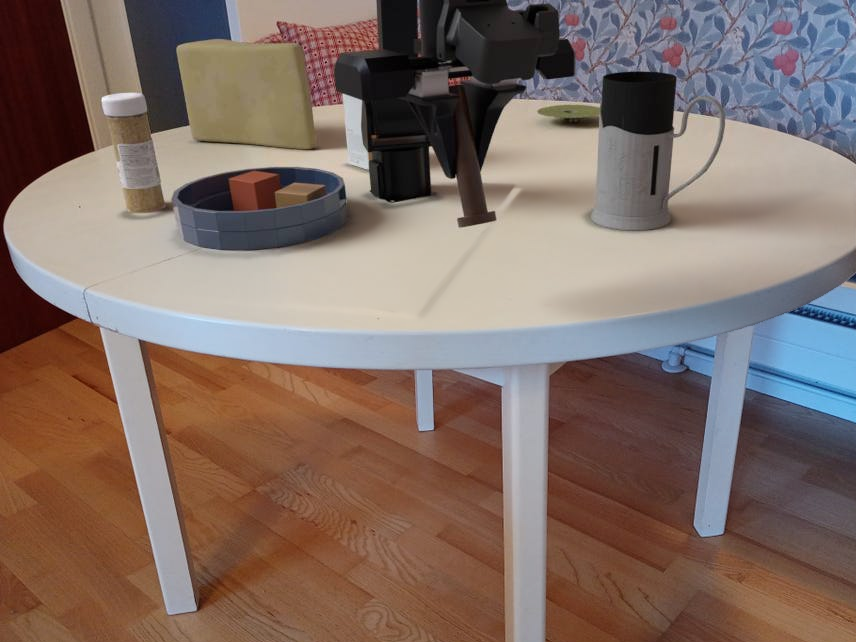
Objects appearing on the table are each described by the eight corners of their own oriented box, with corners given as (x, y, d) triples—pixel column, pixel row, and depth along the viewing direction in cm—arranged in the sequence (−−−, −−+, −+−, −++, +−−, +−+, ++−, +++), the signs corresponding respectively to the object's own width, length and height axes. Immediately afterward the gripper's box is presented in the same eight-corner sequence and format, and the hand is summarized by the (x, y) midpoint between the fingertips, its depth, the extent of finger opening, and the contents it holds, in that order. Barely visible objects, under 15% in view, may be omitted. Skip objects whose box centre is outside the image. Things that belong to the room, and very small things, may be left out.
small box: (369, 172, 112) (362, 92, 107) (347, 164, 116) (340, 87, 111) (417, 161, 116) (412, 84, 112) (394, 155, 120) (389, 80, 115)
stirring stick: (496, 220, 69) (471, 86, 67) (497, 220, 66) (471, 80, 64) (458, 227, 69) (433, 93, 67) (458, 228, 66) (431, 88, 64)
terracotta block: (234, 212, 94) (228, 178, 93) (258, 203, 97) (253, 170, 96) (259, 217, 93) (254, 182, 91) (284, 208, 96) (279, 174, 94)
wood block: (298, 217, 92) (294, 182, 90) (330, 220, 91) (326, 185, 89) (279, 228, 89) (274, 192, 87) (311, 231, 88) (306, 195, 86)
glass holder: (618, 201, 97) (626, 68, 90) (730, 224, 88) (748, 79, 81) (575, 220, 91) (579, 78, 84) (691, 246, 82) (706, 91, 76)
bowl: (314, 195, 102) (310, 159, 100) (374, 234, 88) (370, 193, 86) (164, 221, 94) (156, 182, 92) (203, 268, 80) (195, 224, 78)
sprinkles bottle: (133, 207, 99) (107, 92, 93) (171, 205, 100) (148, 90, 94) (122, 218, 95) (94, 99, 89) (162, 216, 96) (137, 97, 90)
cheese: (335, 142, 129) (325, 40, 122) (292, 156, 121) (278, 48, 114) (235, 130, 139) (220, 35, 132) (190, 141, 132) (171, 42, 125)
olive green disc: (611, 117, 141) (612, 105, 140) (593, 130, 132) (594, 118, 131) (549, 114, 145) (549, 102, 144) (527, 127, 136) (527, 115, 135)
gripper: (386, -27, 50) (403, 220, 57) (625, -38, 58) (613, 179, 66) (321, -30, 59) (342, 185, 66) (537, -39, 67) (535, 153, 74)
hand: (462, 175), depth 68 cm, fingers closed on stirring stick, 2 cm apart
